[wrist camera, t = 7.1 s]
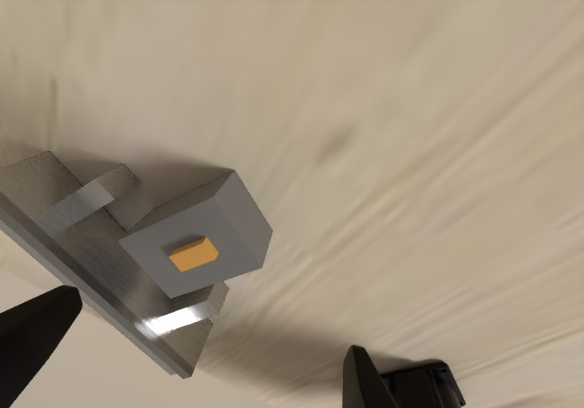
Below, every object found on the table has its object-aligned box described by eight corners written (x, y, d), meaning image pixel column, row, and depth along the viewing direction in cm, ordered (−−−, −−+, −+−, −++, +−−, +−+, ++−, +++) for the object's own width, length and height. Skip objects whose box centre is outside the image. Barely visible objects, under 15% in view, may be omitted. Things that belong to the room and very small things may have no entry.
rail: (249, 312, 23) (233, 365, 19) (191, 330, 25) (166, 383, 21) (88, 121, 16) (12, 142, 12) (27, 167, 18) (-55, 198, 14)
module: (273, 229, 19) (260, 274, 15) (195, 259, 21) (165, 306, 17) (235, 168, 17) (209, 202, 13) (154, 207, 19) (109, 247, 15)
